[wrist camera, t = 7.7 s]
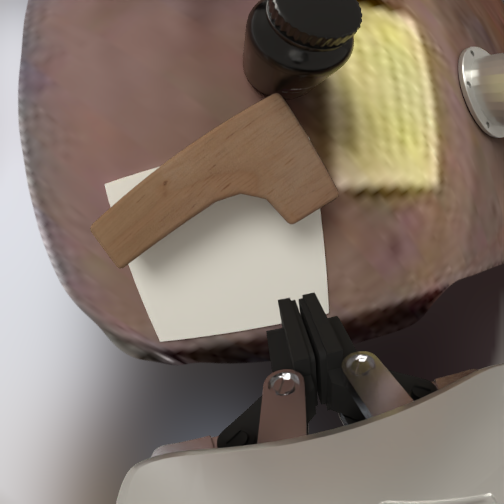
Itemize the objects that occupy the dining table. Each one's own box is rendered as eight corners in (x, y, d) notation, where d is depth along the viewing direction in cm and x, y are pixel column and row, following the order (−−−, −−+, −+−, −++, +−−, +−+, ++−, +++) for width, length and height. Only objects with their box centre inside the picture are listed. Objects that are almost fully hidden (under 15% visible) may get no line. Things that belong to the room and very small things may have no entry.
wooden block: (342, 196, 19) (152, 312, 22) (324, 188, 23) (164, 287, 26) (279, 89, 16) (86, 228, 19) (271, 101, 20) (109, 215, 23)
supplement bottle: (296, 114, 21) (349, 84, 10) (228, 78, 20) (219, 16, 9) (331, 59, 19) (395, 7, 8) (266, 24, 18) (286, -53, 7)
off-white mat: (307, 137, 22) (309, 136, 22) (327, 310, 29) (328, 313, 28) (106, 183, 23) (104, 184, 22) (161, 339, 29) (160, 341, 29)
